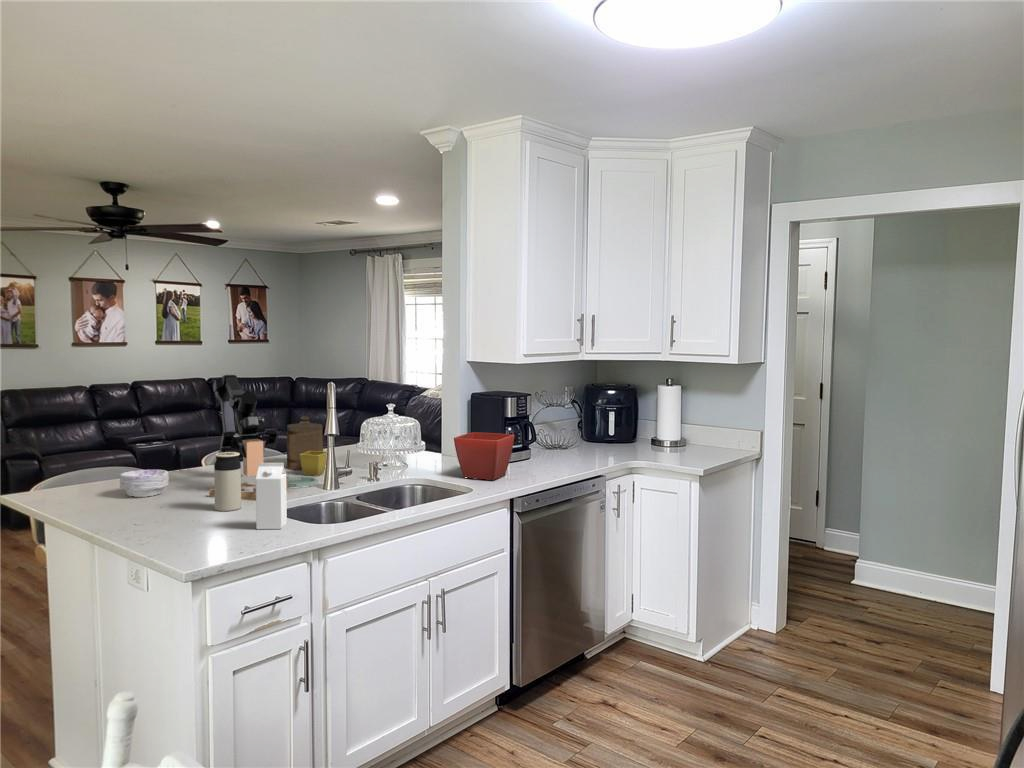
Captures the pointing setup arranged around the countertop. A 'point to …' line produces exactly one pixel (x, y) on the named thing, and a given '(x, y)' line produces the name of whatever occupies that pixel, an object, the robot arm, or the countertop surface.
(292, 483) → the saucer
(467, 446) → the plant pot
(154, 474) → the paper bowls
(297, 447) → the wooden container
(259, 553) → the countertop surface
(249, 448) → the long pot
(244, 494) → the brown flat frame
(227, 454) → the travel mug
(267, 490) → the milk carton
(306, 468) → the flower pot
